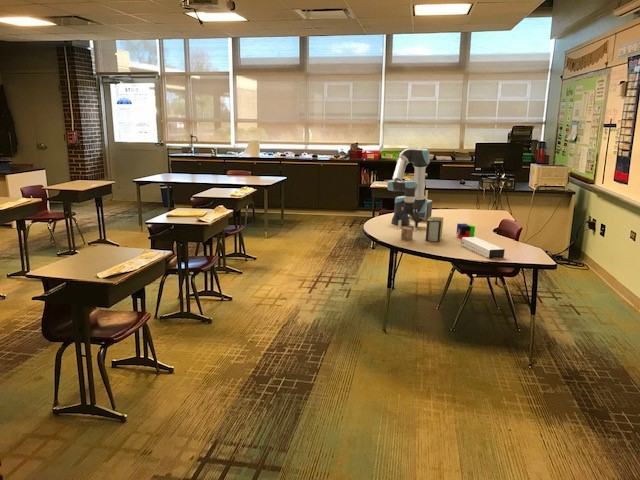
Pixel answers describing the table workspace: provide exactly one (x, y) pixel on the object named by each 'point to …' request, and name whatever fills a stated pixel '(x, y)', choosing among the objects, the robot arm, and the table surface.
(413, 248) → the table surface
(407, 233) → the walnut block
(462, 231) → the puzzle toy
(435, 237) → the protein box
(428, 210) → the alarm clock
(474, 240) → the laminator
